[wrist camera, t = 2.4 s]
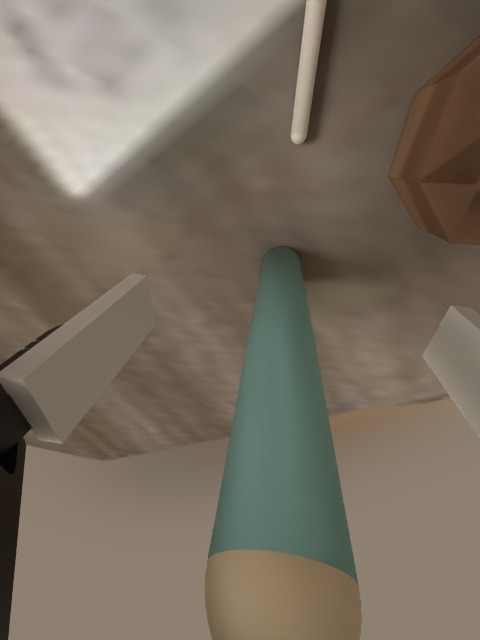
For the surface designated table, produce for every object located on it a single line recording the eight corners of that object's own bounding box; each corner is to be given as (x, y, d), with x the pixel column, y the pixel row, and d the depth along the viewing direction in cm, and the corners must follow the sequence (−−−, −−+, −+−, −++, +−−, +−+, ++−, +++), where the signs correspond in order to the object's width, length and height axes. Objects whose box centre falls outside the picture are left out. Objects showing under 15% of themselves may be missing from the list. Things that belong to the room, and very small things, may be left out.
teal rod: (260, 280, 18) (190, 692, 4) (264, 244, 16) (173, 686, 3) (297, 283, 17) (352, 734, 4) (303, 247, 16) (426, 752, 2)
